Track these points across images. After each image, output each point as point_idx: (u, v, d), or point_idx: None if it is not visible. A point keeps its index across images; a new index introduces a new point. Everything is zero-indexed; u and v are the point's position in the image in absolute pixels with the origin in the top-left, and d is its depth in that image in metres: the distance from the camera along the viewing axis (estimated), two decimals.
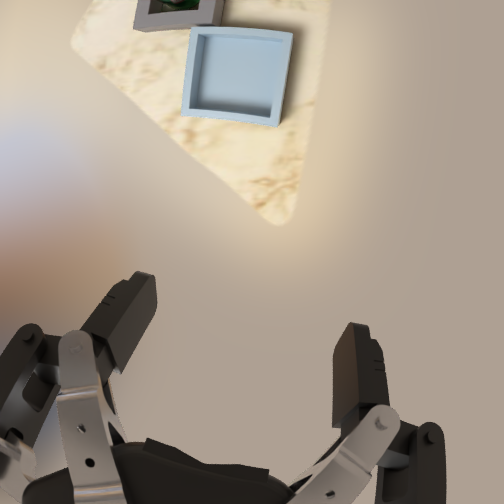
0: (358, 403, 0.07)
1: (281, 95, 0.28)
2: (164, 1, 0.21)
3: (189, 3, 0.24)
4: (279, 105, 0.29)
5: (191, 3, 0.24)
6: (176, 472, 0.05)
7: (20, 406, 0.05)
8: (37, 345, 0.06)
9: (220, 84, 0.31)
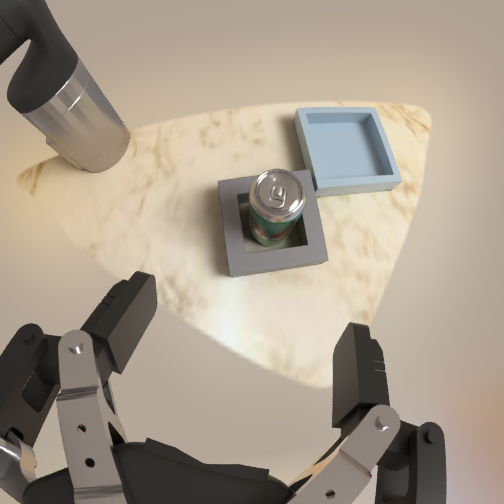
0: (358, 403, 0.07)
1: (351, 107, 0.34)
2: None
3: None
4: (359, 108, 0.34)
5: None
6: (176, 472, 0.05)
7: (20, 406, 0.05)
8: (37, 345, 0.06)
9: (359, 164, 0.35)
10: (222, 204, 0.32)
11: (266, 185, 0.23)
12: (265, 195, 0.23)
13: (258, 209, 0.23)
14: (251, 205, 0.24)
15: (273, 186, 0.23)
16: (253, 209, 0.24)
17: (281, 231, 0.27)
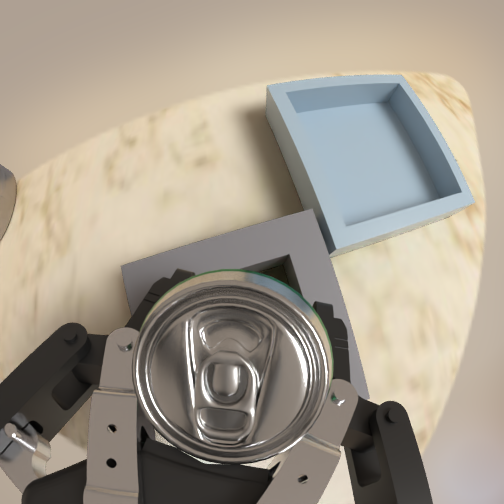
0: None
1: (365, 76, 0.17)
2: None
3: None
4: (378, 76, 0.17)
5: None
6: (176, 472, 0.05)
7: (47, 403, 0.06)
8: (82, 345, 0.07)
9: (397, 178, 0.18)
10: None
11: (173, 360, 0.05)
12: (178, 401, 0.05)
13: None
14: None
15: (203, 361, 0.05)
16: None
17: None
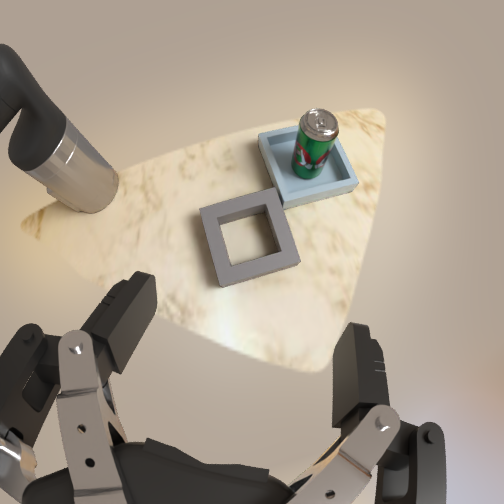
0: (358, 403, 0.07)
1: None
2: None
3: None
4: None
5: None
6: (176, 472, 0.05)
7: (20, 406, 0.05)
8: (37, 345, 0.06)
9: (320, 174, 0.42)
10: (205, 227, 0.38)
11: (311, 117, 0.31)
12: (313, 123, 0.31)
13: (310, 133, 0.31)
14: (303, 132, 0.32)
15: (316, 118, 0.31)
16: (305, 134, 0.31)
17: (324, 153, 0.34)
